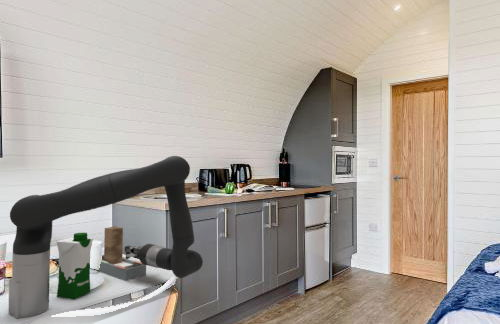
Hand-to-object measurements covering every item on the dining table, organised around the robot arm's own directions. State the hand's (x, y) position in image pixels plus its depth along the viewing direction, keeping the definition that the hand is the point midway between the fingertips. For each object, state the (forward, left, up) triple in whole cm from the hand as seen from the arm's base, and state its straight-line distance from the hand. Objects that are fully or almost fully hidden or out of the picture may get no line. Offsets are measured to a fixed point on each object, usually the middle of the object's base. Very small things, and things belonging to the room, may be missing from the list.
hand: (126, 248), depth 136 cm
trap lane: (0, +7, -10) cm, 12 cm away
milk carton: (-23, -5, -10) cm, 26 cm away
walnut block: (0, +9, -7) cm, 11 cm away
